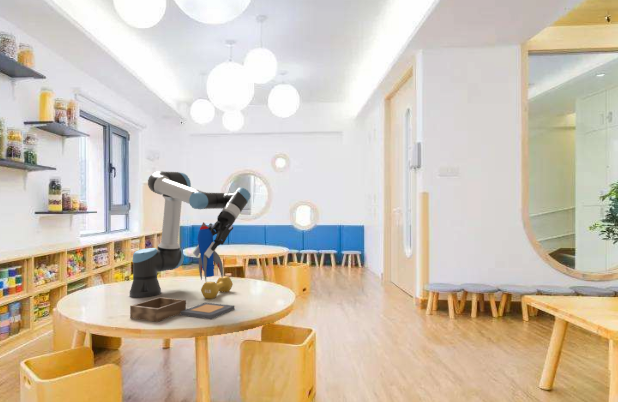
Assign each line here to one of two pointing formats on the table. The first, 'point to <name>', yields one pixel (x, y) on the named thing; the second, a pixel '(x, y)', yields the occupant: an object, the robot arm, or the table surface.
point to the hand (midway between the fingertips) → (200, 255)
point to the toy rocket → (204, 262)
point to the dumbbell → (216, 287)
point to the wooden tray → (157, 309)
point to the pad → (207, 310)
